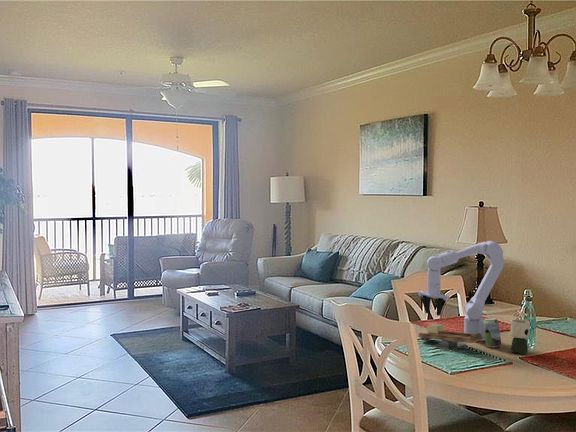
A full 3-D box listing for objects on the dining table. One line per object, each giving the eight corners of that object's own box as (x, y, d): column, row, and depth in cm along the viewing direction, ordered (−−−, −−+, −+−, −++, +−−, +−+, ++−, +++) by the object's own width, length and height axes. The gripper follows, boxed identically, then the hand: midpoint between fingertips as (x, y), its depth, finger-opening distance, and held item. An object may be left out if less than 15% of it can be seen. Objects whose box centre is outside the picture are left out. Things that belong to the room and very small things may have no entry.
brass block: (444, 333, 239) (443, 324, 239) (438, 336, 236) (437, 326, 236) (434, 332, 243) (433, 323, 243) (427, 335, 240) (427, 325, 240)
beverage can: (498, 349, 230) (499, 321, 230) (480, 346, 235) (481, 318, 234) (503, 346, 235) (503, 318, 235) (485, 343, 240) (486, 315, 239)
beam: (483, 342, 228) (482, 332, 228) (471, 346, 222) (470, 336, 223) (430, 337, 247) (429, 327, 247) (418, 340, 241) (418, 331, 241)
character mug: (526, 357, 220) (527, 325, 219) (507, 354, 224) (507, 322, 223) (531, 350, 229) (532, 319, 228) (512, 348, 233) (513, 317, 232)
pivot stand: (466, 345, 236) (466, 338, 236) (449, 351, 228) (449, 344, 227) (449, 341, 242) (449, 334, 242) (432, 347, 234) (432, 340, 233)
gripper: (414, 282, 250) (414, 312, 251) (443, 287, 240) (442, 318, 240) (423, 280, 255) (423, 310, 256) (452, 285, 244) (451, 315, 245)
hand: (433, 314), depth 248 cm, fingers open, 5 cm apart
